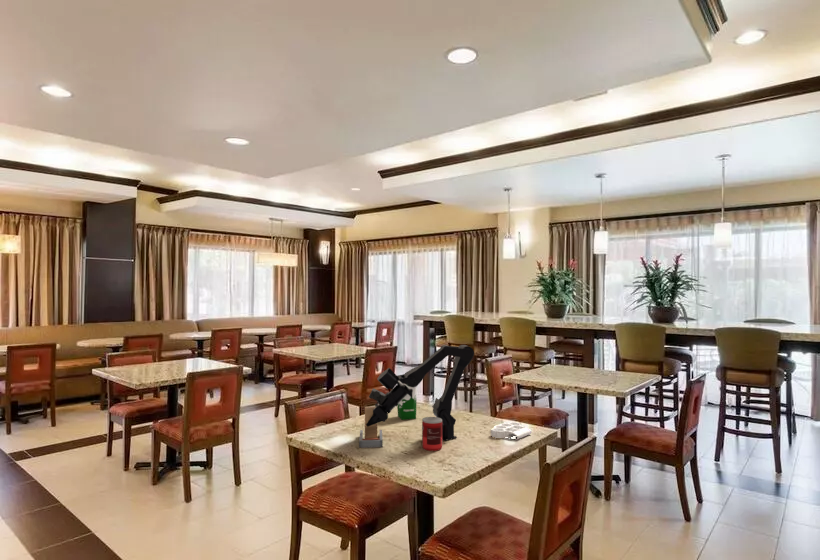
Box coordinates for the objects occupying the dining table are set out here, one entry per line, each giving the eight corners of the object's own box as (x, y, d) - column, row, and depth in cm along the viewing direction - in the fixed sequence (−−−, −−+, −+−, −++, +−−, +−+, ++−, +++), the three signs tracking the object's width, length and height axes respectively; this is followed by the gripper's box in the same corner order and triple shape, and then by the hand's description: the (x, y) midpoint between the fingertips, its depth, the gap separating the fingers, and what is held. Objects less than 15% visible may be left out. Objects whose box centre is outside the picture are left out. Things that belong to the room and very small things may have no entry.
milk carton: (400, 420, 226) (400, 377, 227) (395, 416, 235) (395, 374, 235) (418, 419, 229) (418, 376, 229) (412, 414, 237) (412, 373, 238)
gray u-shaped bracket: (382, 447, 187) (382, 440, 187) (359, 447, 186) (359, 441, 186) (381, 435, 202) (381, 429, 202) (360, 436, 201) (360, 430, 201)
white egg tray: (513, 443, 193) (482, 436, 203) (535, 434, 206) (505, 427, 216) (513, 435, 193) (482, 428, 203) (535, 426, 206) (505, 420, 216)
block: (377, 442, 193) (377, 409, 193) (364, 442, 193) (364, 409, 193) (377, 438, 198) (377, 406, 198) (364, 438, 197) (365, 406, 198)
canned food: (431, 443, 191) (431, 415, 192) (446, 448, 186) (446, 419, 186) (417, 447, 186) (417, 419, 186) (433, 452, 180) (433, 422, 181)
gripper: (383, 378, 205) (356, 404, 205) (378, 386, 186) (350, 415, 186) (401, 397, 205) (375, 423, 205) (399, 407, 186) (370, 436, 186)
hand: (367, 423), depth 195 cm, fingers closed on block, 5 cm apart
